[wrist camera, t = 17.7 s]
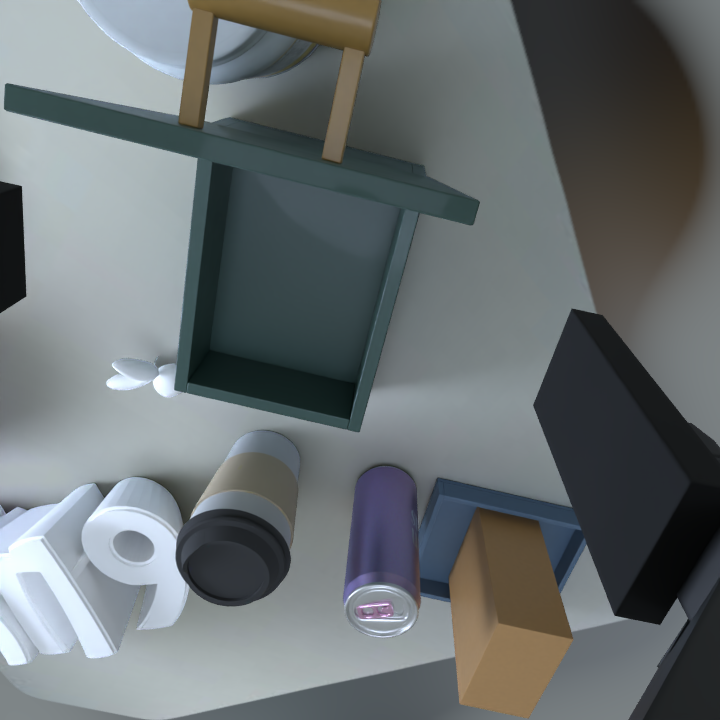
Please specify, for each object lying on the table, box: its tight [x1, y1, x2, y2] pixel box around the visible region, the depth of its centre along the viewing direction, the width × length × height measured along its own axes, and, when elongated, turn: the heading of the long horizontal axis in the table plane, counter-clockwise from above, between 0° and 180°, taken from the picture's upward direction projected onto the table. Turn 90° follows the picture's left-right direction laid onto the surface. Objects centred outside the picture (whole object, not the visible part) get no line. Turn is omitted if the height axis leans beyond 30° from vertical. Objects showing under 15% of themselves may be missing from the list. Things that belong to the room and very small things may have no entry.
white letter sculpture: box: [0, 477, 189, 665], centre depth 60 cm, size 35×16×11 cm, turn 99°
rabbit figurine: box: [107, 356, 182, 397], centre depth 53 cm, size 6×4×8 cm
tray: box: [418, 478, 587, 602], centre depth 60 cm, size 15×13×2 cm
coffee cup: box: [175, 430, 300, 606], centre depth 52 cm, size 9×9×15 cm
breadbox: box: [174, 117, 426, 432], centre depth 47 cm, size 20×15×7 cm
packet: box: [449, 507, 573, 718], centre depth 55 cm, size 6×10×14 cm, turn 167°
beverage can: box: [343, 466, 421, 638], centre depth 53 cm, size 6×6×15 cm
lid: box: [4, 0, 480, 225], centre depth 28 cm, size 21×15×6 cm
